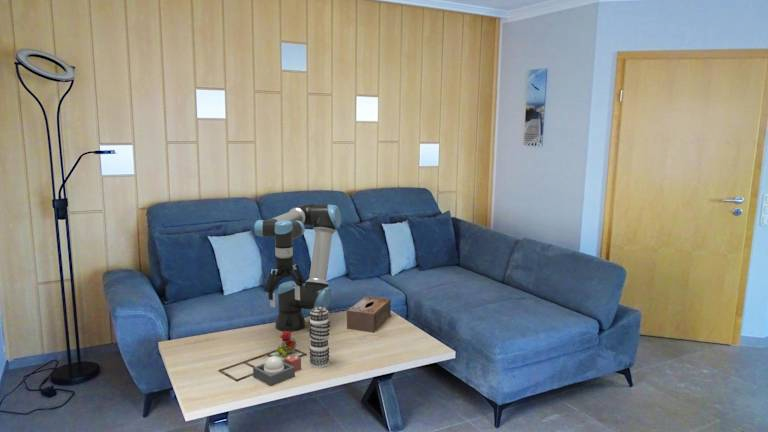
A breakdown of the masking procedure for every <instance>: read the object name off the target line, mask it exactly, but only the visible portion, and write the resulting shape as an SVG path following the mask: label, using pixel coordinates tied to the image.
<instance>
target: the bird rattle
mask: <svg viewBox="0 0 768 432" xmlns="http://www.w3.org/2000/svg"><path fill="white" fill-rule="evenodd" d="M280 338H281V339H282V340H281V341H282V343H281V345H280V344H278V346H277V348H276V349H275V350H276V351H277V352H278V353H279V354H282V356H283V357H284V356H285V355H286V356H287V354H286V353H285V352H287V353H289V352H291V353H292V352H293V350H294V349H296V346H297V339H296V338H294V337H292V331H282V334H280ZM286 348H287V349H286ZM294 351H295V350H294Z"/></svg>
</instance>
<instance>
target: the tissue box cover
mask: <svg viewBox="0 0 768 432" xmlns="http://www.w3.org/2000/svg"><path fill="white" fill-rule="evenodd" d="M391 303H392V299H391V298H385V297H376V296H370V295H365V296H364V297H362V298H361V299H360V300H359V301H357V302H356V303H355V304H354V305H352V306H350V307H349V308H348V309H347V310H346V329H347V330H352V331H358V332H366V333H375V332H377V330H378V329H379V328H380V327H381V326H382V325H384V323H385V322H387V320H388V319H390V317H391V316H392V315H391V313H392V310H391V308H392V305H391Z"/></svg>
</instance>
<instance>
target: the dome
mask: <svg viewBox="0 0 768 432" xmlns="http://www.w3.org/2000/svg"><path fill="white" fill-rule="evenodd" d="M264 363H265V365H264V371H265V372H267V373H269V374H271V375H272V374H274V373H277V372H279V371H282V370H284V364H283V361H282V360H281V359H280V358H279V357H277V356H272V357H270V356H268V358H267V359H266V360H265V362H264Z"/></svg>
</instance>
